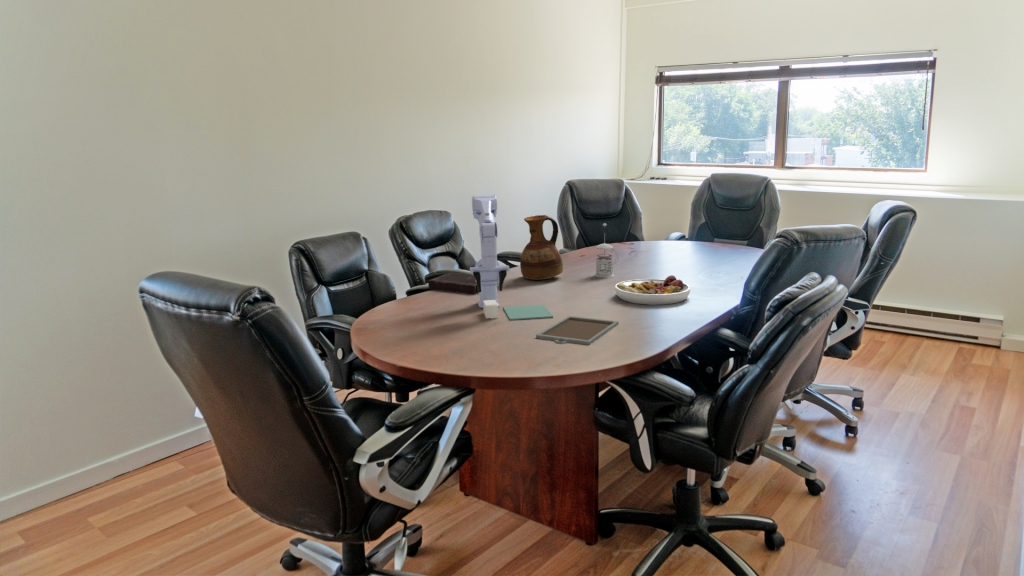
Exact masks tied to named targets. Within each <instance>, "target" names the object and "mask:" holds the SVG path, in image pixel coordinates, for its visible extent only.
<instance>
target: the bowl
mask: <svg viewBox="0 0 1024 576" xmlns="http://www.w3.org/2000/svg"><path fill="white" fill-rule="evenodd" d="M614 291H615V295H617V297H619V299H621V300H623V301H624V302H626V303H627V302H628V303H632V304H639V305H647V306H660V305H661V306H663V305H671V304H672V305H673V304H677V303H681V302H682V301H685V299H687V298H688V296H690V294H691V293H690V292H691V286H690V285H688V284H687V283H685V282H683V281H682V279H677V277H676V276H675V275H668V276H667V277H666V278H665V279H660V278H659V279H658V278H639V279H628V280H623V281H620V282H617V283H616V284H615V286H614Z"/></svg>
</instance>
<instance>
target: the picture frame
mask: <svg viewBox="0 0 1024 576" xmlns="http://www.w3.org/2000/svg"><path fill="white" fill-rule="evenodd" d="M617 326H619V321H618V320H611V319H610V320H609V319H603V318H601V319H600V318H592V317H584V316H574V315H567V316H566V317H565V318H562V319H561V320H559V321H557V322H555V323H554V324H553V325H551V326H549V327H547V328H546V329H544V330H542V331H540V332H539V333H537V334H536V335H535V338H536V339H539V338H540V339H541V340H547V339H549V340H548V341H554V342H555V344H558V343H559V345H561V344H562V345H564V344H571V342H572V344H578V343H579V344H581V345H585V344H586V345H587V346H589V345H591V343H592V344H593V343H595V342H596V341H597V340H599V339H600V338H601V337H603V336H604V335H606V334H607V333H608V332H610V331H611V330H613V329H614V328H615V327H617ZM540 339H539V340H540ZM595 340H596V341H595ZM563 343H564V344H563Z"/></svg>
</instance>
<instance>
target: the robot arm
mask: <svg viewBox="0 0 1024 576" xmlns="http://www.w3.org/2000/svg"><path fill="white" fill-rule="evenodd" d="M471 209H472V215H473V219H475V220H477V222H478V224H479V227H478V229H479V238H480V254H481V255H480V256H481V257H480V259H479V260H478V261H477V262H476V263H475V264H474V266H473V267H471V266H470V267H469V273H470V274H472V275H473V276H474V277H475V281H476V282H477V285H478V289H479V293H478V296H479V297H478V298H479V299H478V301H477V302H476V303H477V305H478V308H481V309H482V308H483V309H484V306H483V301H484V300H495V301H496V302H497V304H498V308H499V307H500V303H499V302H498V290H499V292H502V290H503V286H504V282H505V280H506V277H507V275H508V273H507V272H510V266H509V265H500V263H499V262H498V251H497V250H498V248H497V247H498V246H497V245H498V244H497V242H498V239H497V238H498V233H499V231H498V224H497V221H496V219H495V218H496V217H497V214H498V213H497V212H498V211H497V210H498V198H497V196H496V194H492V195H472V197H471Z"/></svg>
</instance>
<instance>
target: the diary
mask: <svg viewBox="0 0 1024 576" xmlns="http://www.w3.org/2000/svg"><path fill="white" fill-rule="evenodd" d="M427 283H428V285H427V286H428V288H429V289H428V290H434V291H443V292H444V291H445V292H452V293H459V294H468V295H469V294H470V295H476V294H479V289H478V285H477V282H476V281H475V277H474V275H473V274H472V275H471V274H467V273H462V272H461V273H459V272H449V273H445V274H443V275H439V276H438V277H434V278H432V279H429V280H428V282H427Z"/></svg>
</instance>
